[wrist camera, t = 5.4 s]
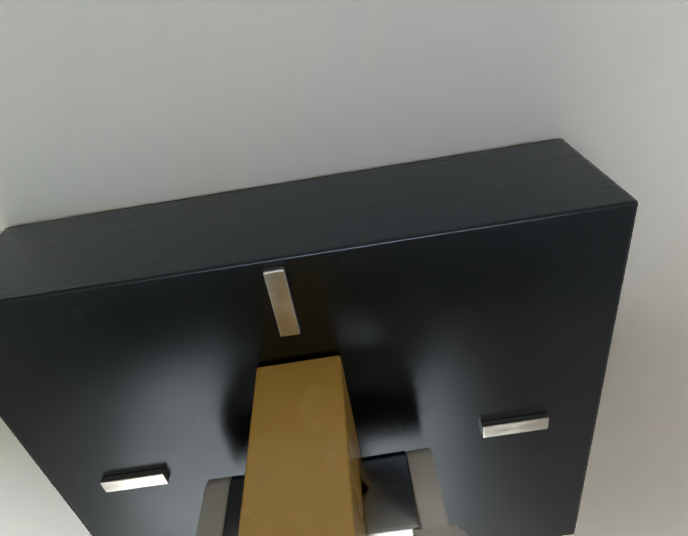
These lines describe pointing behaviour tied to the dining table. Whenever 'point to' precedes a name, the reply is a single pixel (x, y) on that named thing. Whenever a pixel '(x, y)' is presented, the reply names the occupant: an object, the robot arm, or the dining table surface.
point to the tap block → (324, 332)
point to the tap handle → (302, 454)
